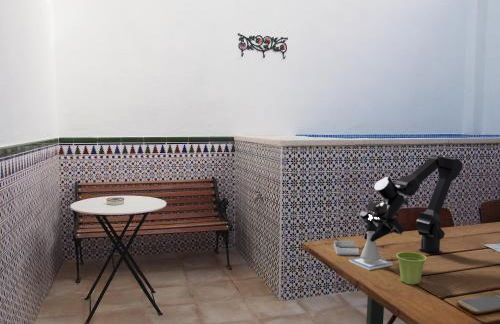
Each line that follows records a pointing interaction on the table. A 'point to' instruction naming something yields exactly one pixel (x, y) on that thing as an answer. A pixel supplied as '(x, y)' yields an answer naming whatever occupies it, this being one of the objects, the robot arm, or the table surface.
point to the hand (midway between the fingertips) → (368, 239)
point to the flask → (370, 249)
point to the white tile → (370, 263)
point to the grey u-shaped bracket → (346, 248)
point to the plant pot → (411, 267)
